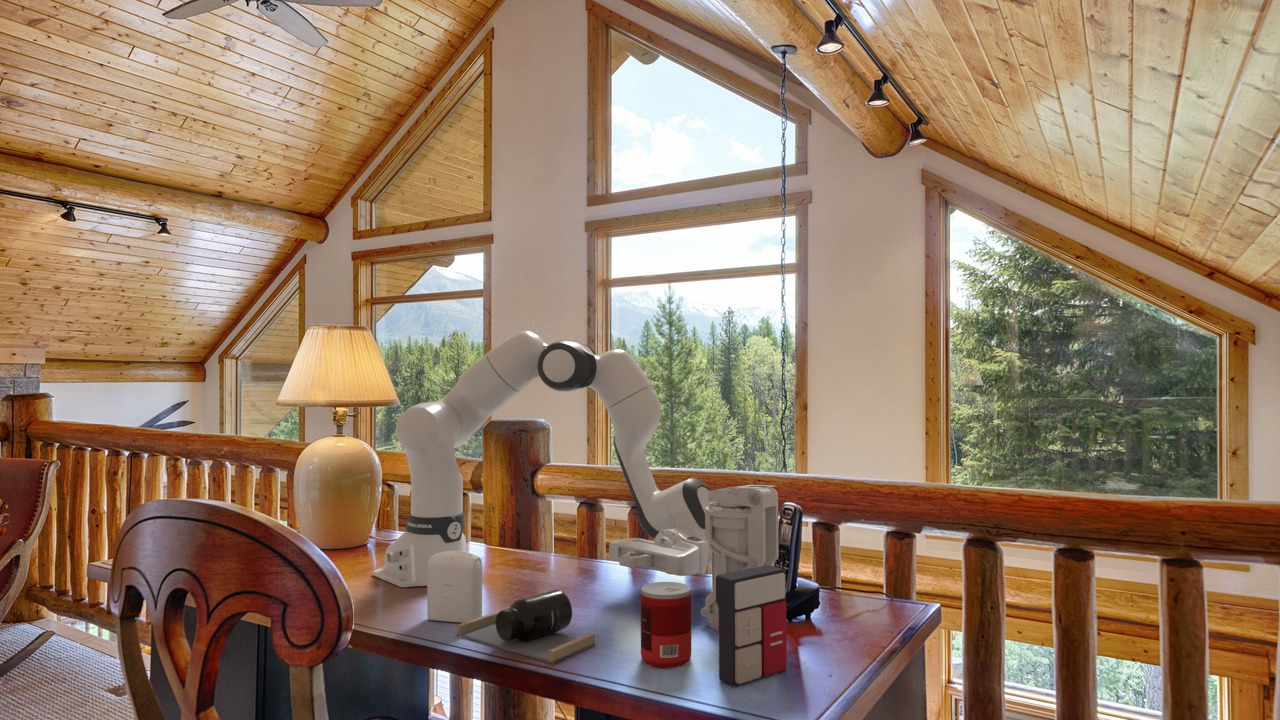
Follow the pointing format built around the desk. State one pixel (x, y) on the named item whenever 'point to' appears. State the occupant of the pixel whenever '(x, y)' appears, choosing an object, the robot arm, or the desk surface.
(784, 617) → the calculator
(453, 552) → the photo printer
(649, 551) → the robot arm
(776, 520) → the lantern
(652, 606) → the canned food
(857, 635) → the desk surface
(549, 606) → the supplement bottle
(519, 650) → the felt tray
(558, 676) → the desk surface
